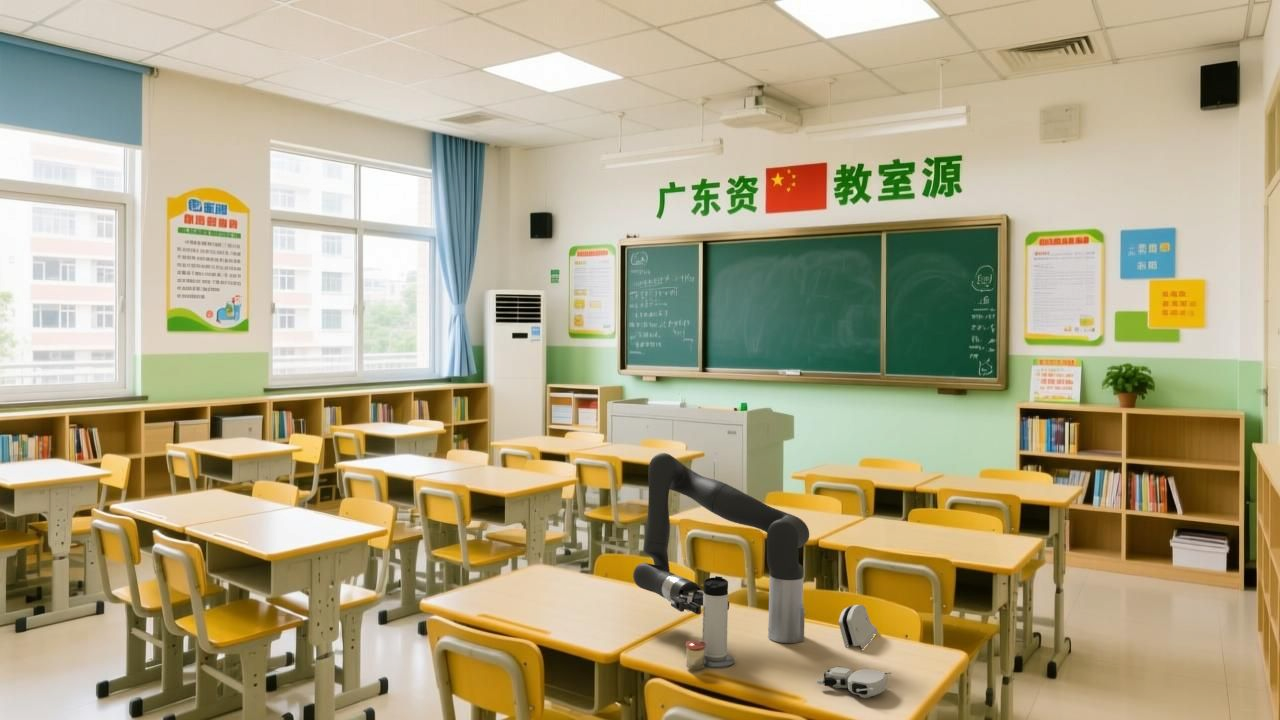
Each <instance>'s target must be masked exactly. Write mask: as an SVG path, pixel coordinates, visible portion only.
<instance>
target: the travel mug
mask: <svg viewBox="0 0 1280 720" xmlns="http://www.w3.org/2000/svg"><path fill="white" fill-rule="evenodd" d="M728 590H729V581H728V580H727V579H725V578H724V577H723V576H717V575H716V576H715V577H709V578H706V579H705V580H704V581H703V591H704V592H703V594H704V595H703V606H702V640H701V641H703V642H705V643H706V647H705V652H704V655H706V656H707V658H708V661H711V662H721V661H724V660H725V659H726V658H727V652H728V619H729V617H728V615H729V614H728V613H729V610H728V602H729V591H728Z"/></svg>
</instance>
